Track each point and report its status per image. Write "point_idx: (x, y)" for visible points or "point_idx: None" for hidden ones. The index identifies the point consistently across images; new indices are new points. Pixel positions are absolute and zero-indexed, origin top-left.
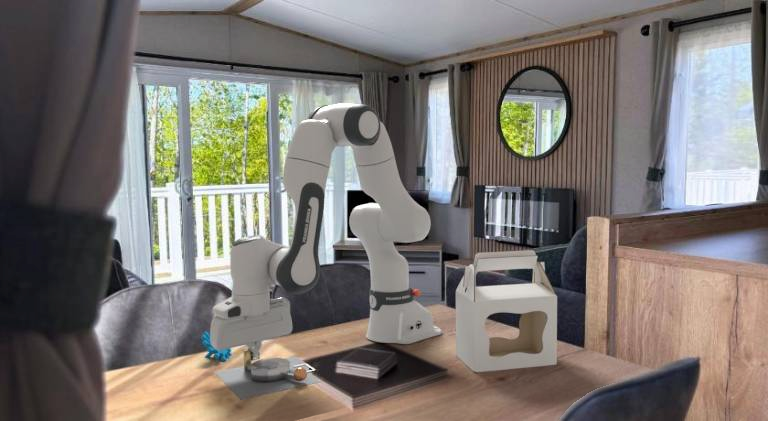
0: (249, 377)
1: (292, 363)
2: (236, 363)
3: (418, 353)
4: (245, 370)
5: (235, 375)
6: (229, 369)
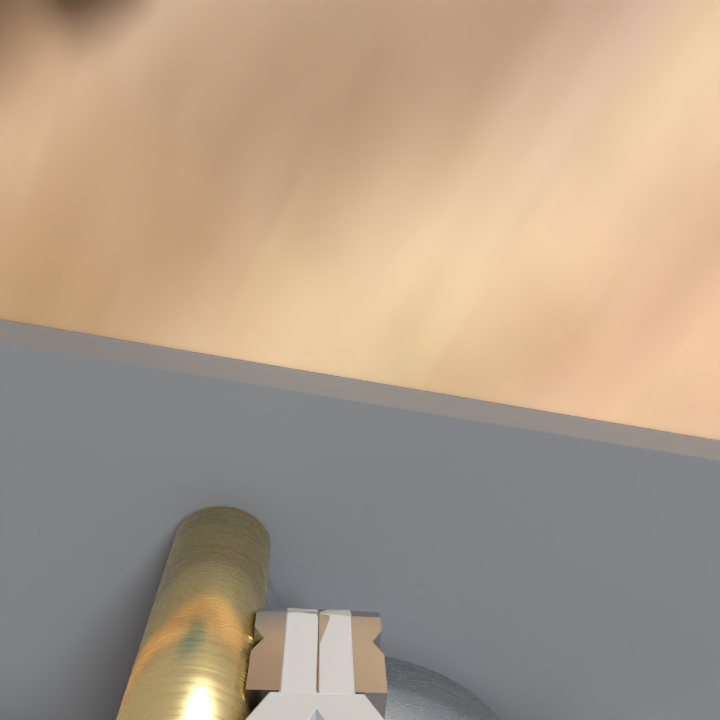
0: None
1: (704, 653)
2: (322, 5)
3: None
4: None
5: (23, 592)
6: (34, 363)
